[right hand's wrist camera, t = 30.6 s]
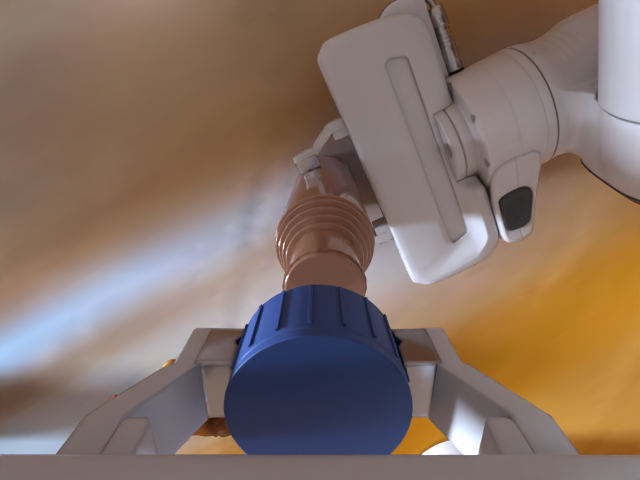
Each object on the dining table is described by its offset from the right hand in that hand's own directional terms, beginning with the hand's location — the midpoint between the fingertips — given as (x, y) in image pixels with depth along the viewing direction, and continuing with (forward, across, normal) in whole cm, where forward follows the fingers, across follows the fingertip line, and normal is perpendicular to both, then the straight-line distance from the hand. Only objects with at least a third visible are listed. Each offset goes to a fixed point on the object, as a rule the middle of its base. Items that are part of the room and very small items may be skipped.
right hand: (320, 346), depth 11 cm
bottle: (+25, 0, 0) cm, 25 cm away
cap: (-2, 0, 0) cm, 2 cm away
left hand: (+19, 0, -1) cm, 19 cm away
